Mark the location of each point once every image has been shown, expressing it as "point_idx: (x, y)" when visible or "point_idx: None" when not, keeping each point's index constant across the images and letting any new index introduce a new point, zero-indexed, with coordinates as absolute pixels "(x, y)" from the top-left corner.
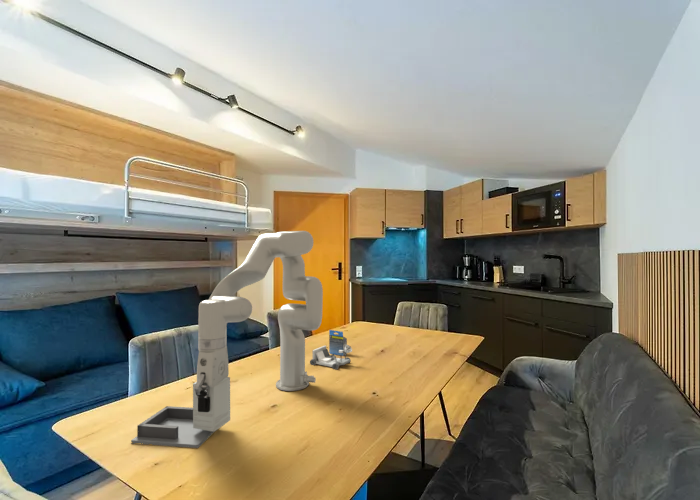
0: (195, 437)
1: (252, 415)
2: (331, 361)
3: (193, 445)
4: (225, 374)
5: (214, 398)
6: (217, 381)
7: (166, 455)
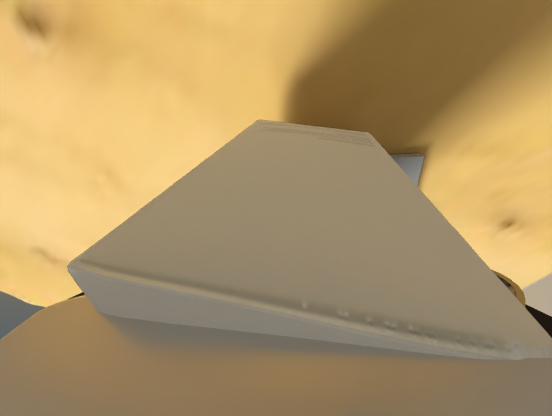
0: None
1: (148, 80)
2: None
3: (418, 172)
4: (75, 374)
5: (435, 210)
6: (434, 404)
7: (457, 222)
